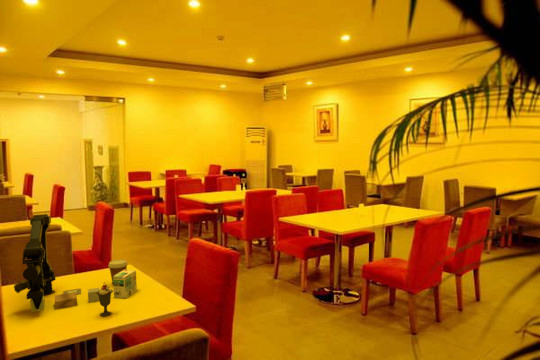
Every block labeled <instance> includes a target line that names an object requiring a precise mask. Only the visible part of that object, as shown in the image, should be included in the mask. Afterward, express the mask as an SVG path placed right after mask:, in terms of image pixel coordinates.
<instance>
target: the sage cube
mask: <svg viewBox="0 0 540 360" xmlns="http://www.w3.org/2000/svg"><path fill="white" fill-rule="evenodd" d="M29 303H30V313H33V312H39V311H45V307H46V304H45V296H43V298H42V301H41V304H40V307H39V309H36V308H35V305H34V303H33V300H32V299H30V301H29Z"/></svg>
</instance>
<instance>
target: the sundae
mask: <svg viewBox="0 0 540 360" xmlns="http://www.w3.org/2000/svg"><path fill="white" fill-rule="evenodd" d="M112 293H114V289H112V288H110V286H109V285H107V284H105V282H103V284H102V285H101V287H100V288H99V291H98V292H97V293H96V294H98V296H99V301H98V302H99V305H100V306H102V307H103V311H102V312H101V313H100V314H99V316H100V317H104V318H105V317H108V316H111V315H112V314H113V313H112V311H108V306H109V305H110V304H111V298H112V297H111V296H112Z"/></svg>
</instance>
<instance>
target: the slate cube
mask: <svg viewBox="0 0 540 360" xmlns="http://www.w3.org/2000/svg"><path fill="white" fill-rule="evenodd" d="M99 290H100V287H95V288H89V289H87V299H88V304H91V303H98V302H100V301H99V296H98V294H96V293H97V292H98V291H99Z"/></svg>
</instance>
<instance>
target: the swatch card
mask: <svg viewBox="0 0 540 360" xmlns="http://www.w3.org/2000/svg"><path fill="white" fill-rule="evenodd" d="M71 292H76V296H78V295H82V288H74V289H68V290H63V292H62V294H65V293H71Z"/></svg>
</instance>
